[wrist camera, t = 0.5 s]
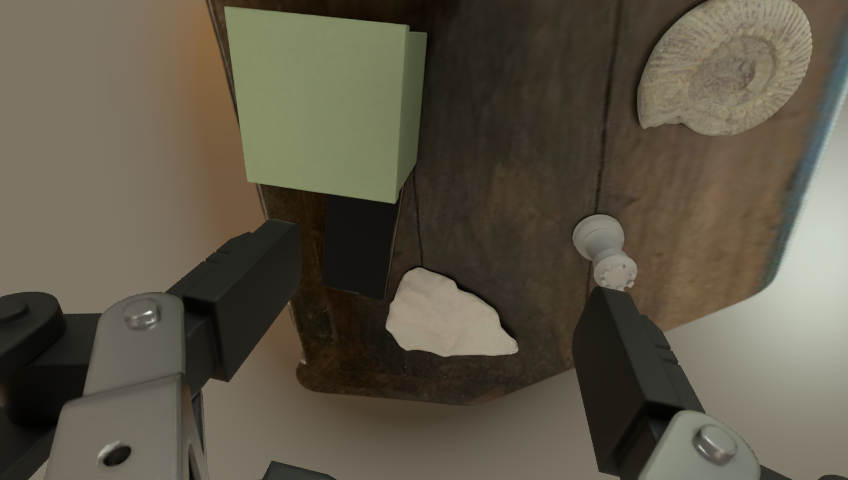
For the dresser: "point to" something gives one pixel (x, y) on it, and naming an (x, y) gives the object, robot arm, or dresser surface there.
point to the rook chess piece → (605, 251)
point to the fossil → (726, 66)
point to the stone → (444, 318)
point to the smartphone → (359, 244)
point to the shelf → (327, 101)
